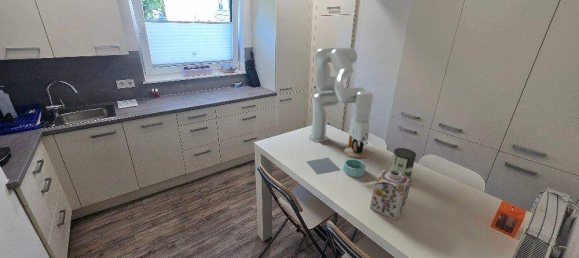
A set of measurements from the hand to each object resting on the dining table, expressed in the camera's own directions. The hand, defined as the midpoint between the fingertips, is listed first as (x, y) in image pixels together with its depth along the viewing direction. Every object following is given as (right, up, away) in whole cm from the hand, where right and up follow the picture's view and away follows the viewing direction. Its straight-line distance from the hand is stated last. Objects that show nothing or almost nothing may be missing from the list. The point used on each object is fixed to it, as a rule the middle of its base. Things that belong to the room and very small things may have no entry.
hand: (356, 150), depth 128 cm
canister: (+7, -2, +30) cm, 30 cm away
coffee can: (+23, -14, +3) cm, 27 cm away
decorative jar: (+8, -23, -20) cm, 32 cm away
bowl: (0, -12, +5) cm, 13 cm away
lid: (0, -2, +1) cm, 2 cm away
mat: (-16, -10, +10) cm, 21 cm away
